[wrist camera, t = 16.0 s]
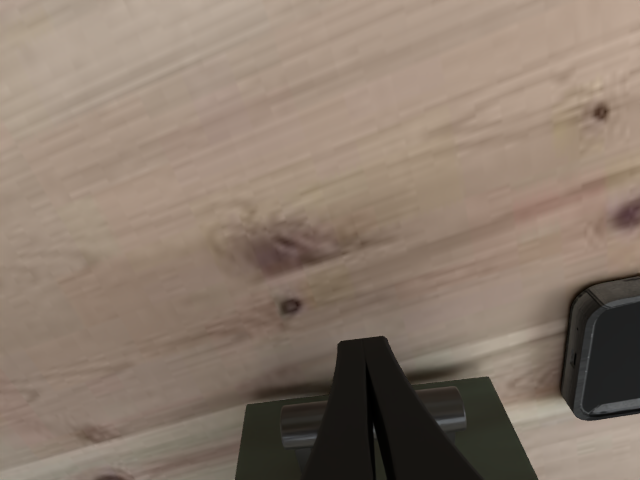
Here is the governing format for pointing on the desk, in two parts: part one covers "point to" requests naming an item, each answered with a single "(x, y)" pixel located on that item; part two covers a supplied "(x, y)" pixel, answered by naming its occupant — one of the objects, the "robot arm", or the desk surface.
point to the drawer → (307, 413)
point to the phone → (604, 351)
